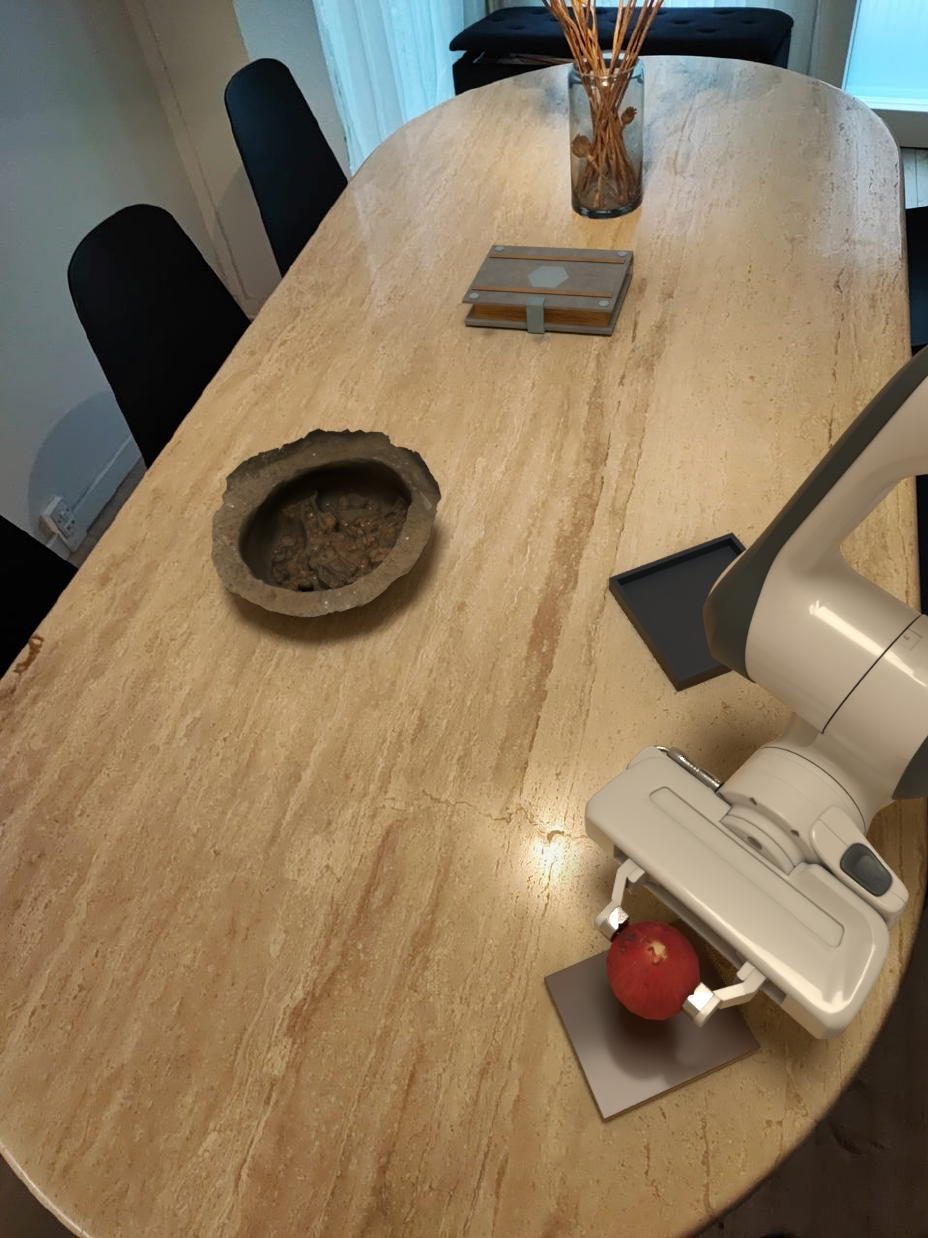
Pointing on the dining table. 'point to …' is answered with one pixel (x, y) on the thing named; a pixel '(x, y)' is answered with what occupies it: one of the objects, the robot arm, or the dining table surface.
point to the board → (642, 1035)
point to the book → (550, 289)
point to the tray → (677, 607)
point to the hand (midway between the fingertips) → (645, 973)
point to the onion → (652, 969)
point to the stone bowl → (323, 522)
